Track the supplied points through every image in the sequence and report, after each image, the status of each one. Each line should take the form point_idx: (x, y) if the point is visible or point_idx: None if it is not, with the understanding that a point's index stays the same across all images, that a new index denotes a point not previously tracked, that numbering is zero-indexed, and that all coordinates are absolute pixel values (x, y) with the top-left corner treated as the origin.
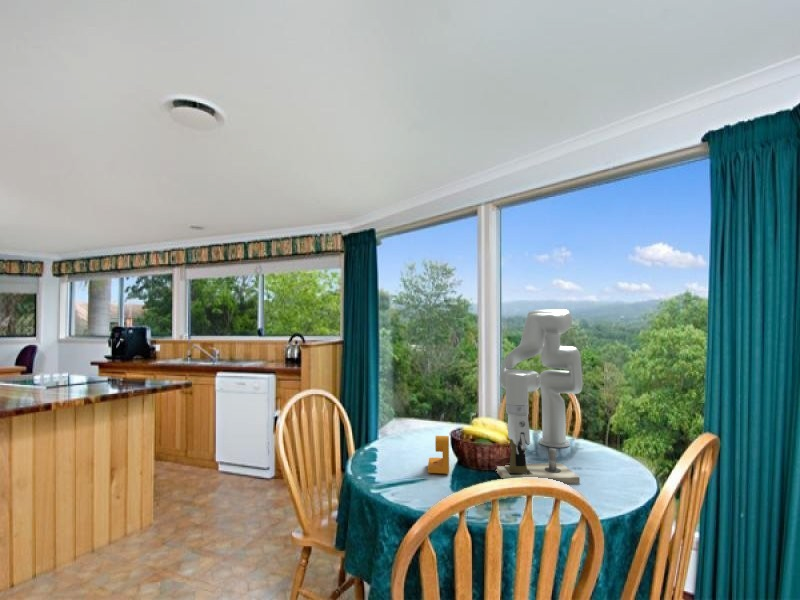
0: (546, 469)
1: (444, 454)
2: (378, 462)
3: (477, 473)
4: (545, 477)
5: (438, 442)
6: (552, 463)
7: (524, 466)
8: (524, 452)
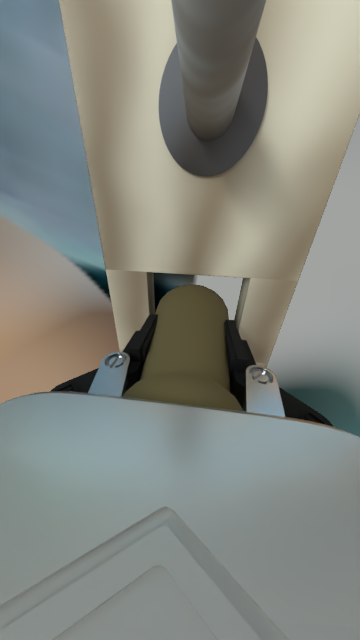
0: (202, 163)
1: None
2: None
3: None
4: (309, 229)
5: None
6: (241, 84)
7: (225, 318)
8: (274, 385)
